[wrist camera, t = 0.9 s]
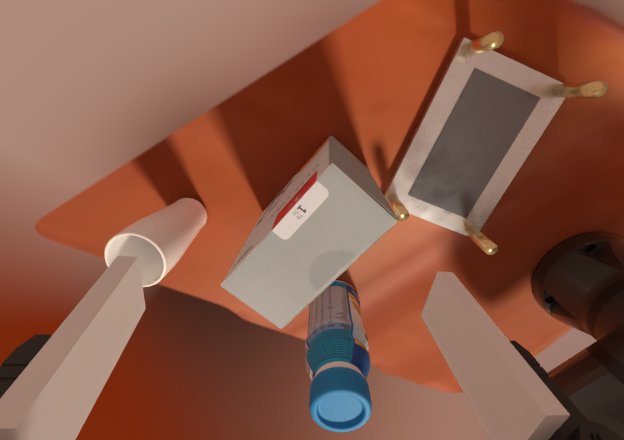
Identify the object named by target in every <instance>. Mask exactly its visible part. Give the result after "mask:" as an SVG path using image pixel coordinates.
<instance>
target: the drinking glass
mask: <svg viewBox="0 0 624 440" xmlns="http://www.w3.org/2000/svg"><path fill="white" fill-rule="evenodd" d="M206 221H207V212H206V209H205V208H204V206H203V205H202V204H201V203H200V202H199V201H197V200H195V199H193V198H182V199H179V200H177V201H176V202H174V203H173V204H171V205H169V206H167V207H165V208H162V209H160V210H158V211H156V212H154V213H152V214H150V215H148V216H145V217H143V218H141V219H139V220H137V221H136V222H134V223H132V224H131V225H129V226H127V227H126V228H124V229H123V230H122V231H120V232H119V233H117V234H116V235H115V236H113V237H112V238H111V239H110V240H109V241H108V243H107V245H106V247H105V252H104V256H105V261H106V264H107V266H108V267H109V266H110V265H111V263H112V262H113V261H114V260H115V259H116V257H117V256H132V257H138V260H139V267H140V274H141V280H142V287H148V286H152V285H154V284H156V283H158V282H159V281H160V280H161V279H162V278H163V277H164V276H165V275H167V274H168V273H169V272H170V270H171V269H172V268H173V267H174V266H175V265H176V264H177V262H178V261H179V260H180V259H181V257H182V256H183V254H184V253H185V251H186V250H187V248H188V247H189V245H190V244H191V243H192V241H193V240H194V238H195V237H196V235H197V234H198V232H199V231H200V230H201V229H202V228H203V227H204V225H205V224H206Z"/></svg>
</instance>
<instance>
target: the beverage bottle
mask: <svg viewBox="0 0 624 440" xmlns="http://www.w3.org/2000/svg"><path fill="white" fill-rule="evenodd" d="M368 348H369V347H368V339H367V336H366V333H365V332H364V327H363V321H362V316H361V310H360V301H359V296H358V294H357V292H356V290H355V289H354V288H353V287H352V286H351V285H349V284H347V283H345V282H343V281H338V280H335V281H334V282H333V283H332V284H330V285H329V286H328V287H327V288H326V289H325V290H324V291H323V292H322V293H321V294H320V295H319V296H318V297H316V298H315V299H314V300H313V301H312V302H311V303H310V309H309V323H308V335H307V338H306V353H307V355H306V368H307V371H308V374H309V376H310V378H311V380H312V383H311V386H310V402H309V406H310V413H311V416H312V418H313V420H314V421H315V422H316V423H317V424H318V425H319V426H321V427H323V428H324V429H327V430H330V431H335V432H348V431H352V430H355V429H357V428H359V427H361V426H362V425H364V424H365V423H366V422H367V421H368V419H369V417H370V415H371V407H372V406H371V398H370V392H369V387H368V383H367V381H366V378H367V376H368V373H369V369H370V355H369V352H368Z"/></svg>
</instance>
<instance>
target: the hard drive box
mask: <svg viewBox="0 0 624 440" xmlns="http://www.w3.org/2000/svg"><path fill="white" fill-rule="evenodd" d="M397 219H398V218H397V216H396V215H395V213H394V211H393V210H392V208H391V207H390V205H389V203H388V202H387V200H386V198H385V196H384V195H383V193H382V191H381V190H380V188H379V186H378V185H377V183H376V181H375V180H374V178H373V177H372V175H371V173H370V171H369V169H368V168H367V167H366V166H365V165H364V164H363V163H362V162H361V161H360V160H359V159H358V158H357V157H355V156H354V155H353V154H352V153H351V152H350V151H349V150H348V149H347V148H345V147H344V146H343V145H342V144H341V143H340V142H339V141H338V140H337V139H335V138H334V137H333V136H331V135H330V136H329V137H328V138H327V139H326V141H325V142H324V143H323V144H322V145H321V146H320V147H319V149H318V150H317V151H316V152H315V153H314V154H313V155H312V157H311V158H310V159H309V160H308V161H307V162H306V163H305V164H304V166H303V167H302V168H301V169H300V170H299V171H298V172H297V174H296V175H295V176H294V177H293V178H292V179H291V180H290V181H289V183H288V184H287V185H286V186H285V187H284V188H283V189H282V191H281V192H280V193H279V194H278V195H277V196H276V197H275V199H274V200H273V201H272V202H271V203H270V204H269V206H268V207H267V208H266V209H265V210H264V211H263V213H262V214H261V216H260V218H259V219H258V221H257V223H256V225H255V227H254V228H253V230H252V232H251V234H250V236H249V237H248V239H247V241H246V243H245V244H244V246H243V248H242V250H241V251H240V253H239V255H238V257H237V258H236V260H235V262H234V264H233V265H232V267H231V269H230V271H229V272H228V274H227V276H226V277H225V279H224V281H223V282H222V284H221V286H222V287H223V288H224V289H225V290H227V291H228V292H230V293H231V294H232V295H234V296H235V297H237V298H238V299H239V300H241V301H242V302H244V303H245V304H246V305H248V306H249V307H251V308H252V309H253V310H255V311H256V312H258V313H259V314H261V315H262V316H263V317H265V318H266V319H268V320H269V321H270V322H272V323H273V324H275V325H276V326H278V327H279V328H280V329H282V328H284V327H285V326H286V325H287V324H288V323H290V322H291V321H292V320H293V319H294V318H295V317H296V316H297V315H298V314H299V313H300V312H301V311H303V310H304V309H305V308H306V307H307V306H308V305H309V304H310V303H311V302H312V301H313V300H314V299H315V298H316V297H318V296H319V295H320V294H321V293H322V292H323V291H324V290H325V289H326V288H327V287H328V286H329V285H330V284H332V283H333V282H334V281H335V280H336V279H337V278H338V277H339V276H340V275H341V274H342V273H343V272H345V271H346V270H347V269H348V268H349V267H350V266H351V265H352V264H353V263H354V262H355V261H356V260H358V259H359V258H360V257H361V256H362V255H363V254H364V253H365V252H366V251H367V250H369V249H370V248H371V247H372V246H373V245H374V244H375V243H376V242H377V241H378V240H379V239H380V238H381V237H382V236H383V235H384V234H386V233H387V232H388V231H389V230H390V229H391V228H392V227H393V226H394V225H395V224H396V221H397Z"/></svg>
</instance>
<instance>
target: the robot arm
mask: <svg viewBox="0 0 624 440" xmlns="http://www.w3.org/2000/svg"><path fill="white" fill-rule="evenodd" d="M532 291H533V295H534V298H535V300H536V301H537V303H538V304H539V305H540V306H541V307H542V308H543V309H544V310H545V311H546V312H547V313H548V314H550V315H551V316H552V317H554V318H555V319H557V320H559V321H561V322H563V323H565V324H567V325H569V326H572V327H574V328H576V329H578V330H580V331H583V332H585V333H587V334H589V335H591V336H592V337H594V338H595V339H596V340H597V341H596V342H595V343H593V344H592V345H591V346H589V347H587V348H585V349H584V350H582V351H581V352H579V353H577V354H576V355H574V356H573V357H571V358H570V359H568V360H567V361H565V362H564V363H562V364H561V365H559V366H557V367H556V368H554V369H553V370H551V371H549V372H548V373H547V372H546V371H545V370H544V369H543V368H542V367H540V364H539V363H538V362H537V361H536V359H535V358H534V357H533V356H532V355H531V354H530V352H529V351H527V350H526V349H525V348H523V347H522V346H521V345H520V344H518V343H517V342H516V341H509V340H508V339H507V338H506V336H505V335H504V334H503V333H502V332H501V330H500V329H499V328H498V327H497V325H496V324H495V323H494V322H493V321H492V319H491V318H490V317H489V316H488V315H487V313H486V312H485V311H484V310H483V308H482V307H481V306H480V305H479V304H478V302H477V301H476V300H475V299H474V298H473V296H472V295H471V294H470V293H469V291H468V290H467V289H466V288H465V287H464V285H463V284H462V283H461V282H460V281H459V279H458V278H457V277H456V276H455V275H454V273H453V272H437V274H436V277H435V280H434V282H433V285H432V288H431V290H430V293H429V295H428V298H427V301H426V303H425V306H424V309H423V311H422V314H421V317H422V319H423V320H424V322H425V324H426V326H427V328H428V329H429V331H430V333H431V335H432V336H433V338H434V340H435V342H436V344H437V345H438V347H439V349H440V351H441V353H442V354H443V356H444V358H445V360H446V362H447V363H448V365H449V367H450V369H451V370H452V372H453V374H454V376H455V378H456V379H457V381H458V383H459V385H460V387H461V388H462V390H463V392H464V394H465V395H466V397H467V399H468V401H469V403H470V404H471V406H472V408H473V410H474V412H475V413H476V415H477V417H478V419H479V420H480V422H481V424H482V426H483V428H484V430H485V431H486V433H487V434H488V437H489V438H490V440H624V239H623V238H621V237H619V236H617V235H614V234H611V233H605V232H592V233H585V234H581V235H578V236H575V237H572V238H570V239H568V240H566V241H564V242H562V243H560V244H559V245H557V246H556V247H555V248H553V249H552V250H551V251H550V252H549V253H548V254H547V255H546V256H545V257H544V258H543V259H542V260H541V262H540V263H539V265H538V267H537V268H536V271H535V273H534V276H533V280H532ZM144 310H145V301H144V294H143V287H142V280H141V274H140V267H139V260H138V257H132V256H117V257H116V259H115V260H114V261H113V262H112V263H111V265H110V266H109V267H108V268H107V270H106V271H105V272H104V273H103V274H102V276H101V277H100V278H99V279H98V280H97V282H96V283H95V284H94V285H93V287H92V288H91V289H90V290H89V291H88V293H87V294H86V295H85V296H84V298H83V299H82V300H81V301H80V302H79V304H78V305H77V306H76V307H75V308H74V310H73V311H72V312H71V314H69V316H68V317H67V318H66V319H65V321H64V322H63V323H62V324H61V325H60V327H59V328H58V329H57V330H56V332H55V333H54V334H53V335H35V336H34V337H32V338H31V339H29V340H28V341H26V342H25V343H23V344H22V345H20V346H19V347H17V348H16V349H15V350H14V351H13V352H12V353H11V355H10V356H9V357H8V358H7V359H6V360H5V361H4V362H3V363H2V366H1V367H0V440H75V439H76V437H77V435H78V434H79V432H80V430H81V428H82V426H83V424H84V422H85V420H86V419H87V417H88V415H89V413H90V411H91V409H92V407H93V405H94V404H95V402H96V400H97V398H98V396H99V394H100V393H101V390H102V389H103V387H104V385H105V383H106V381H107V379H108V378H109V376H110V374H111V372H112V370H113V368H114V366H115V365H116V363H117V361H118V359H119V357H120V355H121V353H122V351H123V349H124V348H125V346H126V344H127V342H128V340H129V338H130V337H131V335H132V333H133V331H134V329H135V327H136V325H137V323H138V321H139V320H140V318H141V316H142V314H143V312H144Z"/></svg>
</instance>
